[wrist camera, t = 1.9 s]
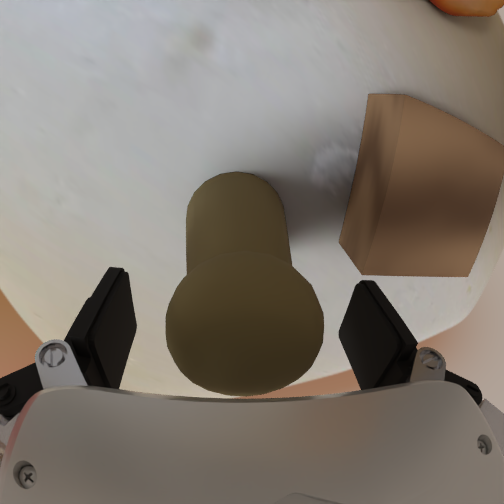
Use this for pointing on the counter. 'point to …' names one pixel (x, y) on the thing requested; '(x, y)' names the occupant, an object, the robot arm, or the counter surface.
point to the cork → (241, 293)
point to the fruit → (469, 7)
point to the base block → (420, 191)
